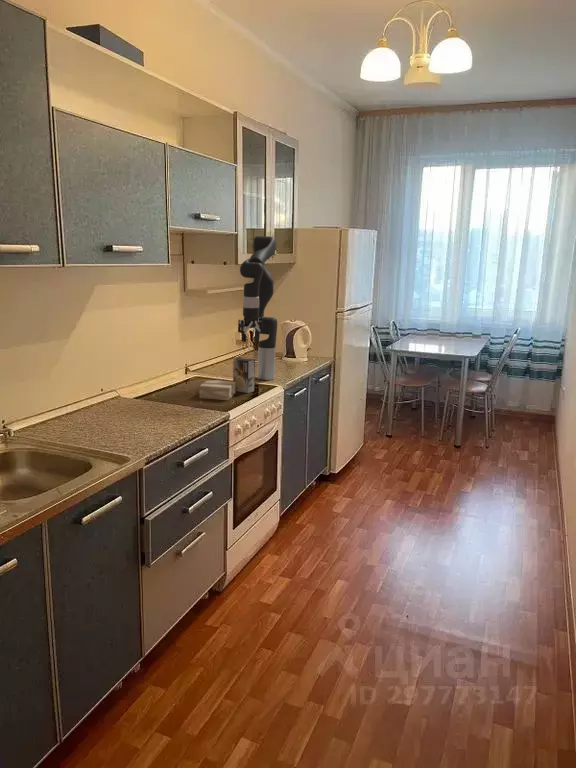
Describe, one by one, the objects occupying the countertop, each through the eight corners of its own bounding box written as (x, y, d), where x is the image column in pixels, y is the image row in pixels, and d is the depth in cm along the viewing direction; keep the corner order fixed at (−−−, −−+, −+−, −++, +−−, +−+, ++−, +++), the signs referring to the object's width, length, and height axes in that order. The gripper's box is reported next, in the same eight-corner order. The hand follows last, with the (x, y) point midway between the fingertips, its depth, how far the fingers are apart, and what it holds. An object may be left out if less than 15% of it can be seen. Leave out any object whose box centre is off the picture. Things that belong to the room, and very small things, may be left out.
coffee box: (254, 390, 280) (255, 359, 276) (248, 393, 275) (249, 361, 271) (239, 388, 284) (240, 356, 281) (232, 390, 279) (232, 358, 275)
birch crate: (207, 391, 277) (207, 379, 275) (235, 393, 275) (235, 381, 274) (199, 398, 263) (199, 386, 262) (228, 401, 262) (229, 388, 260)
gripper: (256, 304, 270) (255, 337, 274) (234, 306, 260) (233, 341, 264) (267, 305, 265) (266, 340, 270) (245, 308, 255) (245, 343, 259)
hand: (250, 340), depth 267 cm, fingers open, 8 cm apart
